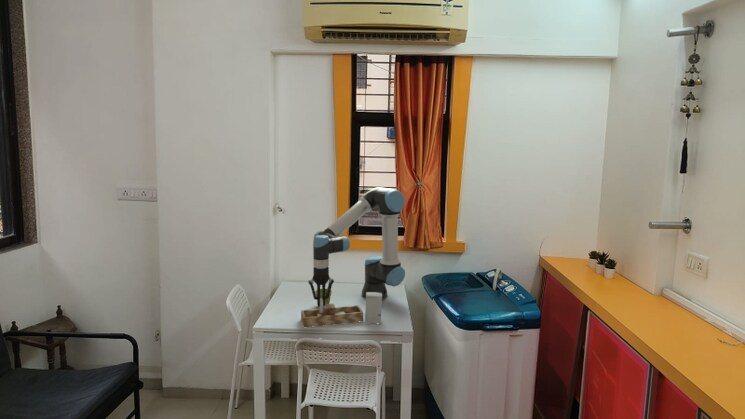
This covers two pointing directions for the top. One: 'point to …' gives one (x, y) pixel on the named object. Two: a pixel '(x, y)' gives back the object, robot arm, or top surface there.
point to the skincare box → (373, 307)
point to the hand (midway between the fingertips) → (321, 311)
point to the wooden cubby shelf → (332, 316)
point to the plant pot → (325, 295)
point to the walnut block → (329, 309)
